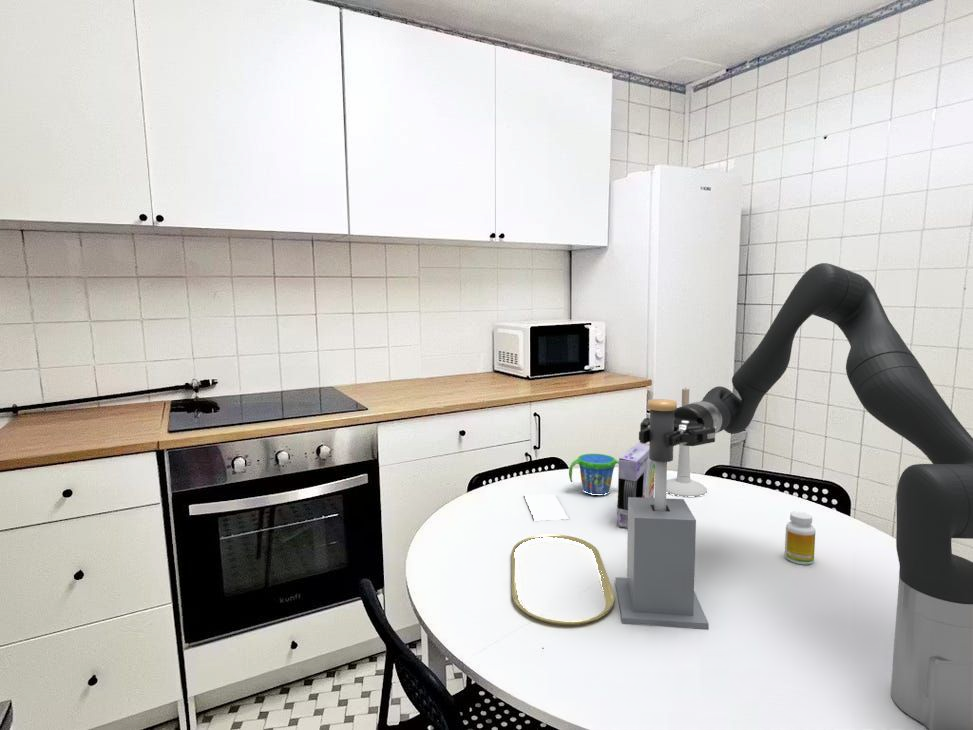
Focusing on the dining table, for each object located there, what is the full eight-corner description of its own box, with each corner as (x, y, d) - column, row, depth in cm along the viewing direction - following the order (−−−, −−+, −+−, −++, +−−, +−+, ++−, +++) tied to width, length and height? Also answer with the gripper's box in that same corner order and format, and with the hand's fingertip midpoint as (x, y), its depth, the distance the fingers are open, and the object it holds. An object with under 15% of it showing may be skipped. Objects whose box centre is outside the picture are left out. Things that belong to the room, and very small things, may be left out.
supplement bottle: (818, 566, 112) (820, 520, 111) (789, 564, 113) (791, 519, 112) (808, 554, 118) (810, 510, 116) (781, 552, 119) (783, 509, 118)
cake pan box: (634, 532, 130) (635, 460, 128) (613, 528, 133) (614, 457, 131) (655, 506, 146) (657, 441, 144) (637, 503, 149) (638, 439, 147)
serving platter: (512, 630, 93) (512, 621, 93) (511, 540, 128) (511, 534, 128) (624, 631, 92) (624, 622, 92) (592, 541, 127) (592, 534, 127)
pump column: (708, 629, 92) (711, 525, 90) (622, 623, 94) (623, 521, 92) (689, 586, 105) (692, 495, 103) (615, 582, 107) (616, 493, 105)
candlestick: (711, 498, 152) (715, 391, 148) (663, 496, 154) (665, 390, 150) (701, 483, 164) (704, 384, 161) (657, 481, 166) (658, 383, 163)
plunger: (675, 557, 96) (679, 404, 93) (647, 556, 96) (649, 403, 93) (670, 545, 100) (673, 399, 97) (643, 544, 101) (645, 399, 98)
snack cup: (621, 487, 162) (621, 453, 161) (626, 499, 152) (627, 463, 151) (567, 486, 164) (567, 452, 162) (569, 498, 153) (569, 463, 152)
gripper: (660, 399, 111) (617, 412, 98) (733, 407, 101) (695, 423, 89) (660, 435, 112) (616, 453, 99) (732, 447, 102) (694, 469, 89)
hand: (654, 439), depth 94 cm, fingers closed on plunger, 4 cm apart
